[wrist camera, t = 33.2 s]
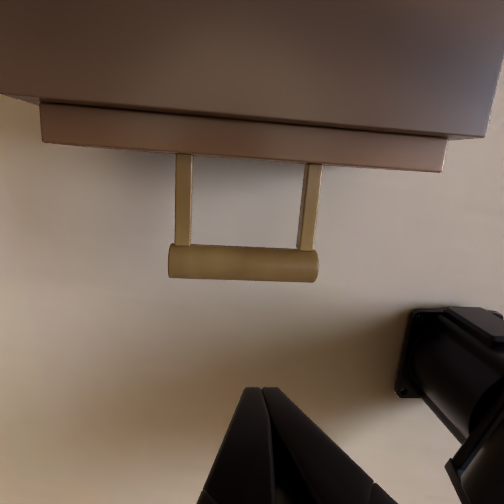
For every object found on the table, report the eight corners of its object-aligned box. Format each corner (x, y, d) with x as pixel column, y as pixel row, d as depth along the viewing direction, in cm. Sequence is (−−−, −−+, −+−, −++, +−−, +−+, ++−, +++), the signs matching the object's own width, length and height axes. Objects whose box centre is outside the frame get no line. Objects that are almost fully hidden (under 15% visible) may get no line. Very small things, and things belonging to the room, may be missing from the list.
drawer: (350, 253, 20) (416, 299, 14) (110, 242, 19) (52, 289, 12) (413, -169, 15) (565, -417, 9) (94, -232, 14) (-18, -597, 7)
